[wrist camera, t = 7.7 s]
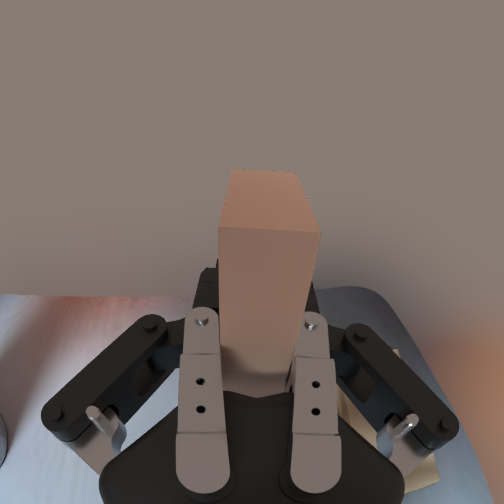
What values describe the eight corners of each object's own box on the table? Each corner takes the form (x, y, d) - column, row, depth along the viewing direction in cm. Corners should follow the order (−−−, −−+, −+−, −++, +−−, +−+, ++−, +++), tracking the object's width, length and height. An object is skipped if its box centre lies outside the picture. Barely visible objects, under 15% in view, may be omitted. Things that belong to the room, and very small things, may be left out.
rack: (432, 484, 14) (453, 473, 12) (326, 512, 14) (338, 508, 12) (393, 356, 28) (403, 336, 26) (307, 361, 28) (314, 341, 26)
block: (270, 430, 13) (321, 232, 7) (224, 429, 13) (218, 226, 7) (268, 361, 18) (295, 172, 11) (229, 359, 17) (232, 168, 11)
